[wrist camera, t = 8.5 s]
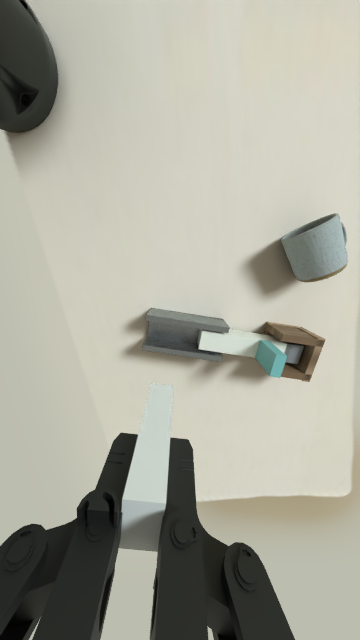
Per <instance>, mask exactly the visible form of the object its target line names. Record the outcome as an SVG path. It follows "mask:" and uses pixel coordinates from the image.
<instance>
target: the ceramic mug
mask: <svg viewBox="0 0 360 640" xmlns="http://www.w3.org/2000/svg"><path fill="white" fill-rule="evenodd" d="M346 241H347V236H346V230H345V227H344V225H343V223H342V222H341V220H340V216H339V214H331V215H328V216H325V217H323V218H320V219H318V220H315V221H313V222H311V223H308V224H306V225H304V226H302V227H300V228H298V229H296V230H294V231H292V232H290V233H288V234H287V235H285V236H284V237H283V238H282V239H281V242H282V244H283V246H284V249H285V252H286V255H287V257H288V260H289V262H290V264H291V268H292V270H293V273H294V275H295V276H296V278H297V279H298V280H299V281H302V282H315V281H319V280H323V279H326V278H329V277H331V276H334V275H336V274H337V273H339V272H341V271H342V270H343V269H344V268H345V267H346V265H347V261H348V255H347V250H346Z"/></svg>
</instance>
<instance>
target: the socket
mask: <svg viewBox="0 0 360 640" xmlns="http://www.w3.org/2000/svg"><path fill="white" fill-rule="evenodd" d="M264 335H270V336H275V337H277V338H278V339H279V340H281V341H285V342H292V343H298V344H301V345H303V346H304V348H303V351H302V353H301V356H300V359H299V362H298V364H293V363H286V362H285V365H284V368H283V371H282V374H281V377H286V378H293V379H299V380H302V381H306V382H309V381H310V379H311V376H312V374H313V371H314V368H315V366H316V363H317V360H318V358H319V355H320V353H321V350H322V347H323V345H324V342H325V340H326V339H324V338H322V337H320V336H318V335H316V334H314V333H312V332H310V331H308V330H306V329H304V328H302V327H296V326H290V325H284V324H277V323H271V322H267V323H266V327H265V330H264Z"/></svg>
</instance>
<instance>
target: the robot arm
mask: <svg viewBox="0 0 360 640" xmlns="http://www.w3.org/2000/svg"><path fill="white" fill-rule="evenodd" d="M57 84H58V73H57V64H56V59H55V55H54V51H53V48H52V46H51V43H50V41H49V38H48V36H47V34H46V33H45V31H44V29H43V27H42V26H41V24H40V22H39V21H38V19H37V17H36V16H35V14H34V12H33V11H32V9H31V8H30V6H29V5H28V3H27V2H26V1H25V0H0V129H2V130H5V131H10V132H23V131H27V130H30V129H32V128H34V127H36V126H37V125H39V124H40V123H41V122H42V121H43V120H44V119H45V118H46V117H47V115H48V114H49V112H50V110H51V108H52V106H53V104H54V101H55V97H56V93H57ZM173 387H174V386H173V385H164V384H156V383H151V386H150V390H149V394H148V398H147V402H146V406H145V410H144V414H143V418H142V422H141V426H140V430H139V434H138V435H137V434H128V433H120V434H119V435H118V437H117V438H116V439H115V440H114V441H113V444H112V446H111V449H110V452H109V455H108V457H107V460H106V463H105V465H104V468H103V470H102V473H101V475H100V479H99V481H98V484H97V486H96V489H95V490H93V491H91V492H89V494H87V495H86V496H85V497H84V498H83V499H82V501H81V502H80V504H79V506H78V507H77V518H76V519H75V520H73V521H72V522H69V523H67V524H65V525H61V526H59V527H55V528H52V529H49V530H45V529H44V528H43V527H42V526H41V525H38V524H30V525H27V526H24V527H22V528H20V529H19V530H17V531H16V532H14V533H13V534H12V535H11V536H10V537H9V538H8V539H7V540H6V541H5V542H4V543H3V544H2V545H1V546H0V640H29V638H30V636H31V634H32V632H33V631H34V629H35V627H36V625H37V623H38V621H39V619H40V618H41V619H40V621H39V624H38V627H37V629H36V632H35V634H34V637H33V639H32V640H100V638H101V633H102V629H103V623H104V619H105V615H106V610H107V605H108V600H109V596H110V591H111V587H112V582H113V577H114V571H115V562H116V557H117V553H118V548H124V549H134V550H145V551H157V552H158V557H157V568H156V575H155V580H154V587H153V589H154V595H153V607H152V619H151V630H150V640H208V630H207V626H208V627H209V628H211V629H212V632H213V637H214V640H295V639H294V636H293V634H292V632H291V629H290V627H289V624H288V622H287V620H286V617H285V615H284V613H283V610H282V608H281V605H280V603H279V601H278V598H277V596H276V593H275V592H274V589H273V586H272V584H271V582H270V579H269V577H268V575H267V572H266V570H265V568H264V565H263V563H262V562H261V560H260V558H259V556H258V555H257V554H256V553H255V552H254V550H253V549H252V548H251V547H249V546H248V545H246V544H244V543H237V542H236V543H233V544H232V545H230V546H227V545H226V544H224V543H222V542H220V541H219V540H217V539H215V538H213V537H212V536H210V535H209V534H208V533H207V532H206V531H205V529H204V528H203V527H202V525H201V523H200V521H199V518H198V515H197V509H196V495H195V478H194V462H193V449H192V446H191V444H190V442H189V440H187V439H178V438H170V435H171V419H172V403H173Z"/></svg>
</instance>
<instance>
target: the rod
mask: <svg viewBox="0 0 360 640" xmlns="http://www.w3.org/2000/svg"><path fill="white" fill-rule="evenodd" d="M197 343H198V349H200V350H207V351H214V352H220V353H227V354H233V355H240V356H247V357H253V358H256V360H257V361H258V362H259V363H260V365H261V366H262V367H263V368H264V370H265V371H266V372H267V373H268V375H269V376H272V377H279V378H280V377H281V374H282V371H283V368H284V365H285V362H286V363H293V364H298V362H299V359H300V356H301V353H302V351H303V348H304V346H303V345H301V344H298V343H292V342H285V341H281V340H279V339H278V338H277V337H275V336H270V335H264V334H257V333H251V332H244V331H238V330H231V329H229V333H223V332H217V331H210V330H204V329H200V330H199V335H198V340H197Z"/></svg>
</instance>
